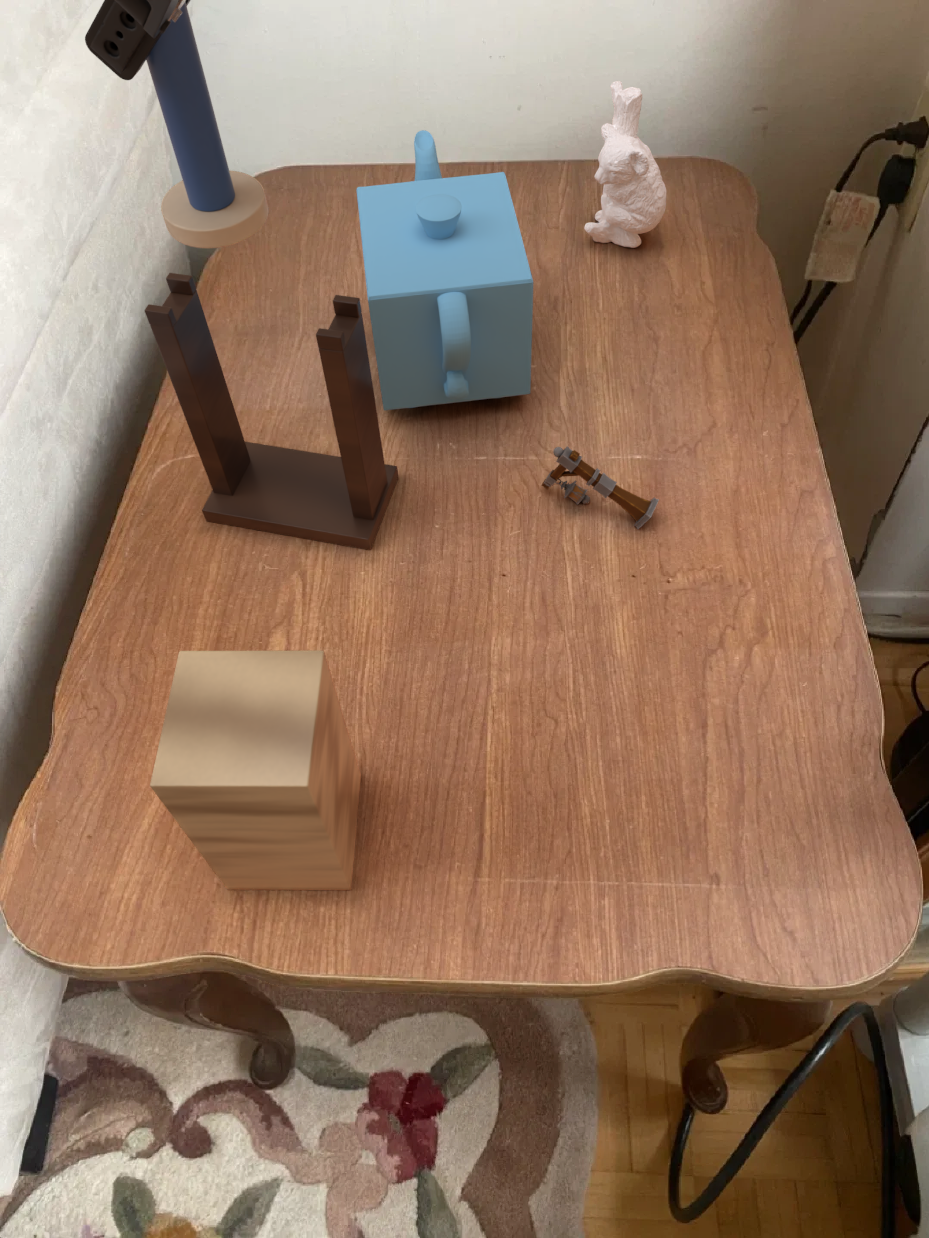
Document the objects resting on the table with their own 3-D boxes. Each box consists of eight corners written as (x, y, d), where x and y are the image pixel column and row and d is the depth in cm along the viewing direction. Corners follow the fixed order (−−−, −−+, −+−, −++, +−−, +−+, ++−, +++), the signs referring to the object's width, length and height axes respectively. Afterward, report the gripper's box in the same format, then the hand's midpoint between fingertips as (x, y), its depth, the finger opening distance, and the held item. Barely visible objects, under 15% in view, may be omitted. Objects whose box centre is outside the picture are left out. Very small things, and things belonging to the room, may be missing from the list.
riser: (351, 890, 53) (308, 786, 41) (226, 889, 53) (148, 785, 42) (361, 774, 57) (324, 649, 45) (245, 774, 57) (178, 650, 46)
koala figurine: (573, 211, 88) (582, 77, 78) (646, 204, 88) (664, 70, 78) (589, 268, 83) (601, 133, 73) (666, 261, 83) (688, 125, 73)
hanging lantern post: (537, 467, 69) (564, 433, 65) (629, 527, 70) (661, 497, 66) (527, 484, 68) (554, 451, 64) (620, 545, 69) (652, 516, 65)
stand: (370, 550, 66) (334, 358, 52) (205, 521, 68) (128, 329, 54) (398, 477, 70) (371, 279, 56) (241, 451, 72) (177, 254, 58)
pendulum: (325, 266, 44) (271, -23, 34) (75, 232, 46) (-44, -48, 37) (359, 204, 47) (319, -81, 37) (121, 174, 49) (22, -102, 39)
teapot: (535, 436, 72) (541, 280, 60) (388, 453, 71) (366, 299, 60) (494, 259, 84) (493, 101, 73) (369, 272, 84) (347, 116, 72)
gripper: (335, -536, 30) (116, -100, 42) (151, -440, 23) (-49, 54, 35) (500, -305, 34) (254, 36, 46) (386, -157, 26) (130, 203, 39)
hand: (123, 43), depth 40 cm, fingers closed on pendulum
